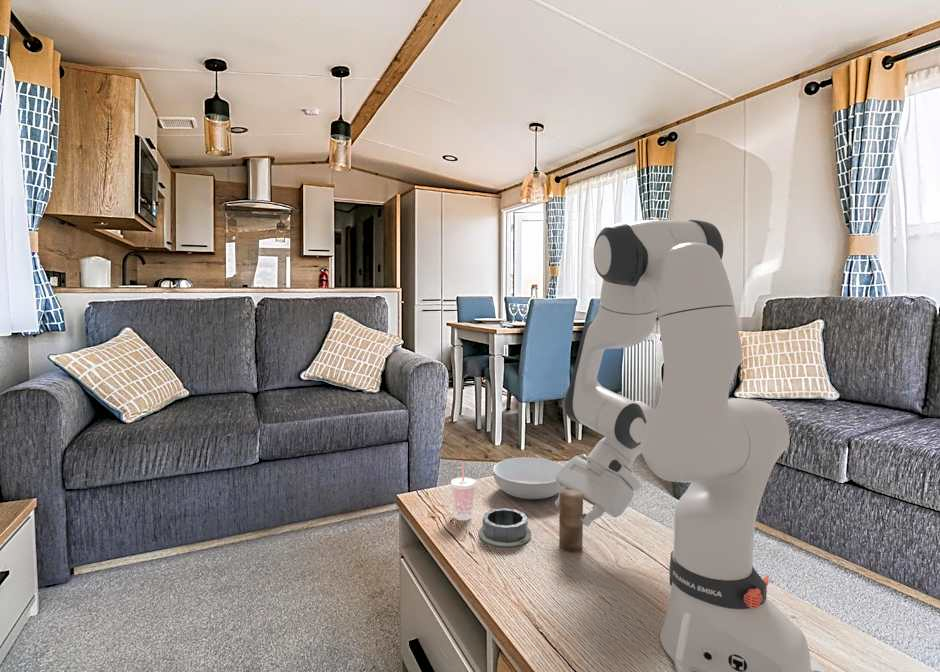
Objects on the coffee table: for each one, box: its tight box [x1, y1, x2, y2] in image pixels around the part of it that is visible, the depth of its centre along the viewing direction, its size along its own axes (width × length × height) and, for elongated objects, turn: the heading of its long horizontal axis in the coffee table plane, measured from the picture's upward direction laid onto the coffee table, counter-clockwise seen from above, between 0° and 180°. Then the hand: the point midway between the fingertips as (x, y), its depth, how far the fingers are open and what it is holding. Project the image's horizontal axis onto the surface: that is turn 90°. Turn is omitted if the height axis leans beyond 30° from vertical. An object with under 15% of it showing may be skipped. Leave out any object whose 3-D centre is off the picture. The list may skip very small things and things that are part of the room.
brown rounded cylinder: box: [558, 490, 584, 553], centre depth 112 cm, size 5×5×12 cm
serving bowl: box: [492, 457, 564, 500], centre depth 144 cm, size 21×21×7 cm
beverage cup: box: [450, 461, 476, 521], centre depth 128 cm, size 6×6×14 cm
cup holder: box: [478, 507, 532, 548], centre depth 119 cm, size 12×12×4 cm
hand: (570, 514), depth 112 cm, fingers open, 8 cm apart
